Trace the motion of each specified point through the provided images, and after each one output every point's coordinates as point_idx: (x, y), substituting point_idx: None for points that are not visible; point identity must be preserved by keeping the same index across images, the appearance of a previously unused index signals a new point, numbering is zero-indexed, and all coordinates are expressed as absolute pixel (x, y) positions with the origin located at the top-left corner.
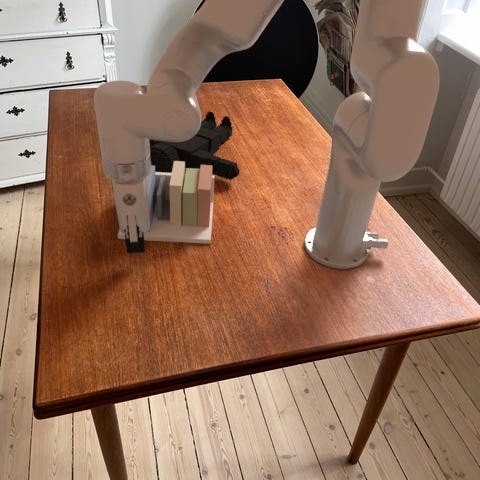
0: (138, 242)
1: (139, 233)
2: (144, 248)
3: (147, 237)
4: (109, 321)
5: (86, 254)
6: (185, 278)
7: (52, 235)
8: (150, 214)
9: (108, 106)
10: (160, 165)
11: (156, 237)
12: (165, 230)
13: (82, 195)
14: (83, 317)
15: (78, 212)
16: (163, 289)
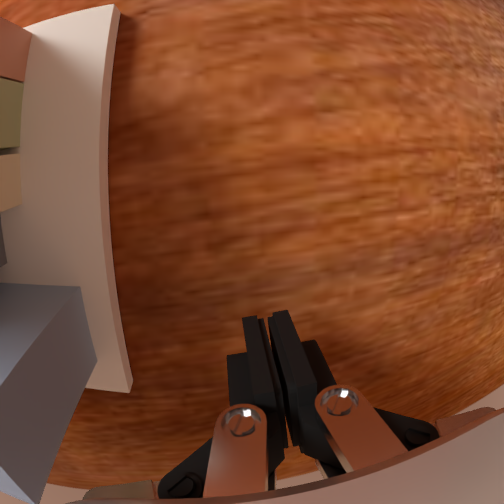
0: (330, 377)
1: (428, 431)
2: (290, 320)
3: (110, 292)
4: (472, 323)
5: None
6: (352, 105)
7: None
8: (15, 317)
9: None
10: None
11: (105, 254)
12: (56, 220)
13: None
14: (446, 376)
15: (65, 455)
16: (405, 192)
